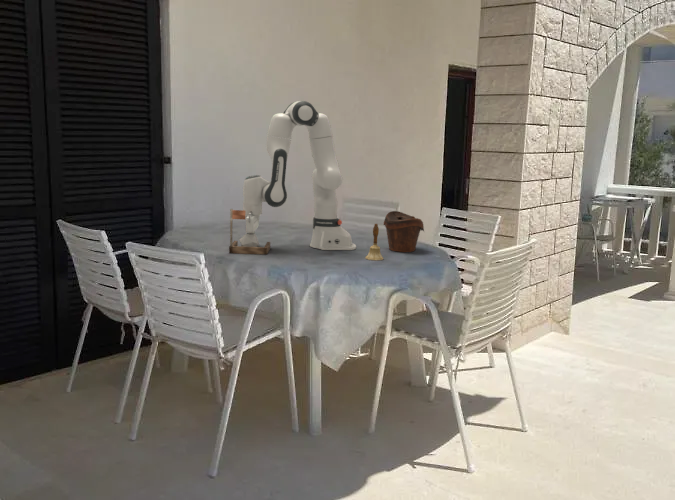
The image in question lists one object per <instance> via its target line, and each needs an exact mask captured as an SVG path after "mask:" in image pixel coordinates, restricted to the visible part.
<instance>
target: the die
mask: <svg viewBox="0 0 675 500" xmlns="http://www.w3.org/2000/svg"><path fill="white" fill-rule="evenodd" d="M238 241H239V243H240V246H242V247H259V246H260V242H259V240H258V236H257V234H256V233H255V234H251V233H245V234H244V235H242V237H241V238H239V240H238Z"/></svg>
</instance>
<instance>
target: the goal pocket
mask: <svg viewBox="0 0 675 500" xmlns="http://www.w3.org/2000/svg"><path fill="white" fill-rule="evenodd" d="M229 210H230V212H229V215H230V217H229V221H230V222H229V224H230V225H229V228H230V230H229V231H230V232H229V235H230V236H229V247H228V248H229V249H228V250H229V251H228V253H229V254H240V255H241V254H242V255H244V254H245V255H265V256H266V255H268V253H269V252H270V249H271V241H266V243H265V245H264V246H257V247H242V246H241V245H240V246H239V244H238V241H239V240H233V220H245V221H246V215H245V213H246V211H244V210H243V209H242V210H241V209H239V210H235V209H233V208H230V209H229Z"/></svg>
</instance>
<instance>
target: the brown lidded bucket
mask: <svg viewBox="0 0 675 500" xmlns="http://www.w3.org/2000/svg"><path fill="white" fill-rule="evenodd" d="M383 226H384V227H385V229H386V237H387V243H388V249H389V250H390V251H393V252H397V253H398V252H400V253H412V252H415V251H416V248H417V243H418V240H419V237H420V233H421V231H423V232H425V227H424V222H423V221H422V219H421V218H417V217H415V216H414V215H412V216H411V215H410V214H408V213H407V214H406V213H404V212H402V211H398V210H393V211H390V212H388V213H387V214H386V215H385V218H384V220H383Z"/></svg>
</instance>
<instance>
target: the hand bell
mask: <svg viewBox="0 0 675 500" xmlns="http://www.w3.org/2000/svg"><path fill="white" fill-rule="evenodd" d="M379 231H380V230H379V226H378V223H374V225H373V228H372V235H373V244H372V245H371V246H370V247H369V251H368V254H367V255H366V256H365V257H364V258H365V260H369V261H383V260H384V257H383V255H382V253H381V247H380V246H378V237H379Z"/></svg>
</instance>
